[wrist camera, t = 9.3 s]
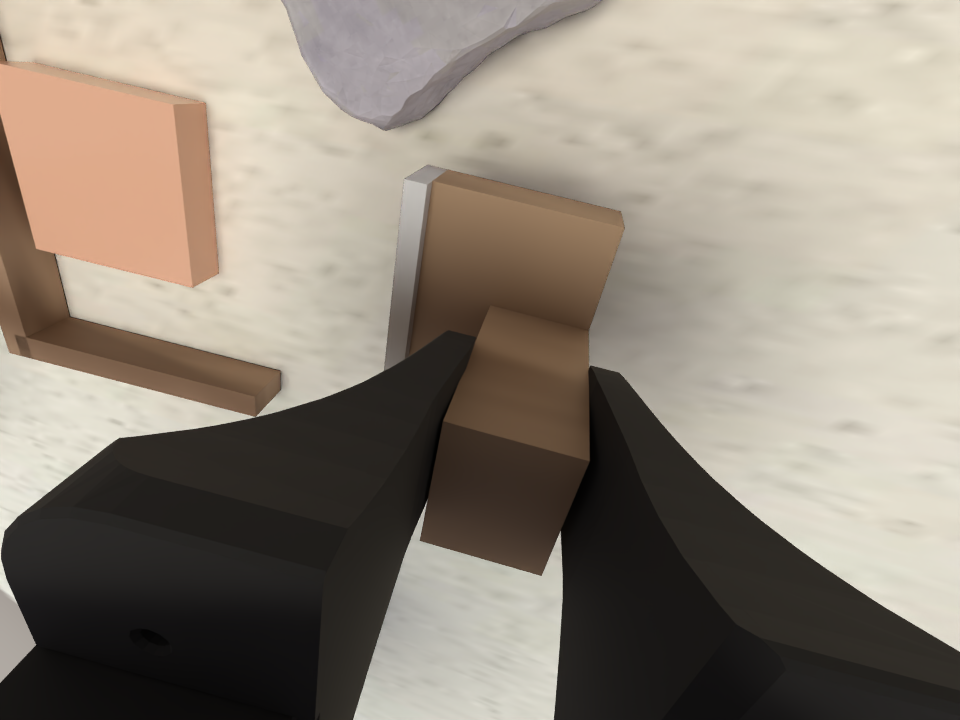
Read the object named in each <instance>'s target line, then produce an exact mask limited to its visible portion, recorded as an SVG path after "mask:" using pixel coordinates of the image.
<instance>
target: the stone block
mask: <svg viewBox="0 0 960 720" xmlns="http://www.w3.org/2000/svg"><path fill="white" fill-rule="evenodd" d="M281 1H282V3H283V4H284V6H285V8H286V10H287V13H288V16H289V19H290V22H291V25H292V28H293V30H294V33H295V36H296V39H297V42H298V45H299V49H300V52H301V55H302V57H303V58H304V60H305V62H306V64H307V65H308V67H309V69H310V71H311V72H312V74H313V76H314V78H315V80H316V81H317V83H318V84H319V86H320V88H321V89H322V91H323V92H324V93H325V94H326V95H327V96H328V97H329V98H330V99H331V100H332V101H333V102H334V103H335V104H336V105H337V106H338V107H339V108H340V109H342V110H343V111H344V112H346V113H347V114H349V115H350V116H352V117H354V118H357V119H359V120H362V121H364V122H367V123H370V124H373V125H375V126H377V127H378V128H380V129H382V130H385V131H387V130H390V129H393V128H396V127H399V126H402V125H404V124H406V123H409V122H411V121H414V120H418V119H421V118H422V117H424V116H425V115H426V114H427V113H429V112H430V111H431V110H432V109H433V108H434V107H435V106H437V105H438V104H439V103H440V102H441V101H442V100H443V98H444V97H445V96H446V94H447V93H449V92H450V91H451V90H453V89H454V88H455V87H456V86H457V84H458V83H459V82H460V81H461V80H462V78H463V77H464V76H466V75H467V74H469V73H470V72H471V71H473V70H474V69H475V68H476V67H477V66H478V65H479V64H480V63H481V62H482V61H483V60H484V59H485V58H486V57H487V55H489V54H490V53H492V52H494V51H495V50H497V49H499V48H500V47H502V46H503V45H505V44H506V43H508V42H509V41H511V40H512V39H514V38H515V37H517V36H519V35H522V34H525V33H527V32H530V31H533V30H539V29H543V28H547V27H549V26H550V25H552V24H554V23H556V22H558V21H559V20H561V19H563V18H565V17H567V16H570V15H573V14H576V13H579V12H583V11H586V10H588V9H589V8H591V7H593V6H595V5H596V4H597V3H599V2H600V1H601V0H281Z"/></svg>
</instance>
